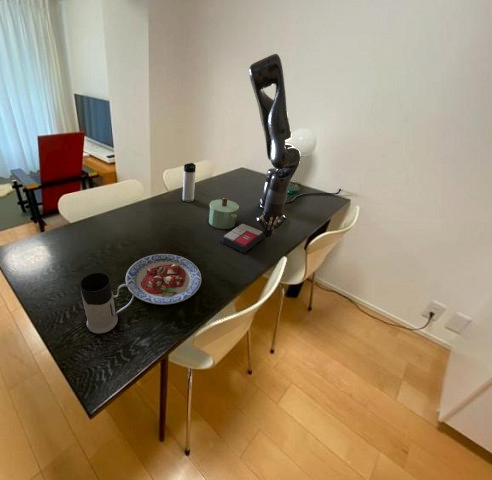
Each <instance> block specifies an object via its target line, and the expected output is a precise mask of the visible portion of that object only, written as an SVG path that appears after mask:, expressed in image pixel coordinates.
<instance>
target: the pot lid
mask: <svg viewBox="0 0 492 480" xmlns="http://www.w3.org/2000/svg"><path fill="white" fill-rule="evenodd" d="M210 208H211V209H212V210H214V211H217V212H221V213H233V212H236V211H237V210H239V209H240V205H239V204H238V203H237V202H235V201H233V200H230V199H228V197H224V196H223V197H222V199H221V198H220V199H214V200H211V201H210V202H209V209H210ZM237 212H238V211H237Z"/></svg>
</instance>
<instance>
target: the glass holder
mask: <svg viewBox="0 0 492 480" xmlns="http://www.w3.org/2000/svg"><path fill="white" fill-rule="evenodd" d="M123 287H127V288H128V287H130V288H131V289H132V291H133V294H132V296H131V299H130V301H129V302H128V303H127V304H126V305H125V306H123V307H122V308H120V309H119V310H117V311H116V308H115V301H114V299H116V298H119V296H120V289H121V288H123ZM79 288H80V295H81V298H82V303H83V308H84V311H85V316H86V327H87V329H88V330H89V331H90V332H92V333H94V334H105V333H108V332H110V331H111V330H113V329H114V328H115V327H116V326H117V324H118V321H119V317H118V314H119V313H121V312H122V311H124V310H125V309H127V308H128V307H129V306H131V305H132V303H133V301H134V299H135V296H134V288H133V287H132V286H131V285H128V284H126V283H122V284H121V285H119V286H118V288H117V291H116V294H115V295H114V293H113V291H112V283H111V278H110V276H109V275H108V274H106V273H105V272H98V271H97V272H92V273H89V274H87V275H85V276H84V277H83V278H82V279H81V280H80V282H79Z"/></svg>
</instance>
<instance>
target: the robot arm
mask: <svg viewBox="0 0 492 480" xmlns="http://www.w3.org/2000/svg"><path fill="white" fill-rule="evenodd" d="M248 75H249V80H250V85H251V87H252V91H253V93H254V97H255V100H256V103H257V109H258V112H259V118H260V119H259V120H260V122H261V127H262V130H263V134H264V139H265V146H266V147H265V148H266V156H267V158H268V160H269V161H270V163H271V166H273V167H271V168H268V169H267V172H266V176H265V180H264V185H263V190H262V195H261V198H260V200H259V201H260V203H259V207H260V208H261V209H263V212H262V214H261V215H260V216H256V221H257V222H258V223H259V225H260V226H261V228H262V229H263V230H264V231H263V236H265V238H271V236H272V234H273V231H274V230H275V229H278V228H279V227H280V226H282V224H283V223H284V222H286V220H287V217H286V216H285V215H284V213H283V212H284V209H285V206H286V204H289V203H291V202H293V201H295V199H297V198H299V197H301V196H305V195H306V196H307V195H333V196H334V195H338V194H339V193H340V192H341V191H342V188H339V190H338V191H337V192H306V193H305V192H303V193H300V194H297V195H296V196H294V197H293V198H292V199H291V200H288V201H287V198H288V193H289V187H290V183H291V180H292V179H293V177H294V175H295V173H296V171H297V169H298V167H299V165H300V162H301V157H302V156H301V151H300V150H299V149H298V148H297V147H294V146H293V145H292V144H289V143H287V142H288V141H289V140H291V139H292V131H291V129H292V128H291V125H290V120H289V115H288V108H287V94H286V86H285V85H286V84H285V77H284V75H285V74H284V68H283V64H282V59H281V57H280V55H279V54H278V53H273V54H271V55H267V56H266V57H263V58H262V59H259V60H257V61H255V62H253V63H252V64H251V65H250V66H249V68H248ZM273 85H274V86H275V92H274V93H275V94H274V98H271V97H270V96H269V95H268V94H267V93H266V92H265V89H266V88H269V87H272V86H273Z"/></svg>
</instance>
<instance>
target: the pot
mask: <svg viewBox="0 0 492 480" xmlns="http://www.w3.org/2000/svg"><path fill="white" fill-rule="evenodd" d="M238 210H239V209H238ZM238 210H237V211H236V212H233V213H221V212H217V211H214V210H212V209H211V208H210V207H209V213H208V224H209V225H210V226H211V227H213V228H215V229H221V230H227V229H228V230H229V229H232V228H235V225H236V222H237V218H238Z"/></svg>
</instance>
